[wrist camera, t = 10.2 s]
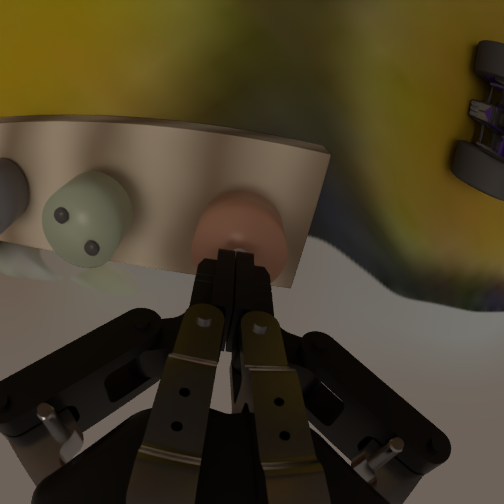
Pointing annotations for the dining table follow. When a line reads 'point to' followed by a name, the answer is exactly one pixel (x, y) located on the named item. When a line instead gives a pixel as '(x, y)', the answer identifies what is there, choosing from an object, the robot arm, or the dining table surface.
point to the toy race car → (494, 117)
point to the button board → (163, 178)
